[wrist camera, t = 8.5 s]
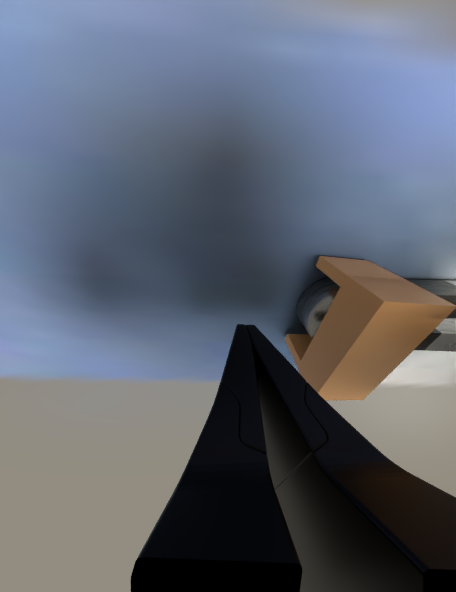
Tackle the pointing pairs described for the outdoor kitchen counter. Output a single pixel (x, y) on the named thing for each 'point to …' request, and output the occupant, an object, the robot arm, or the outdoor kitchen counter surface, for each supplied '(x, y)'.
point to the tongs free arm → (440, 290)
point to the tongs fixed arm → (321, 295)
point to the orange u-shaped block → (364, 329)
